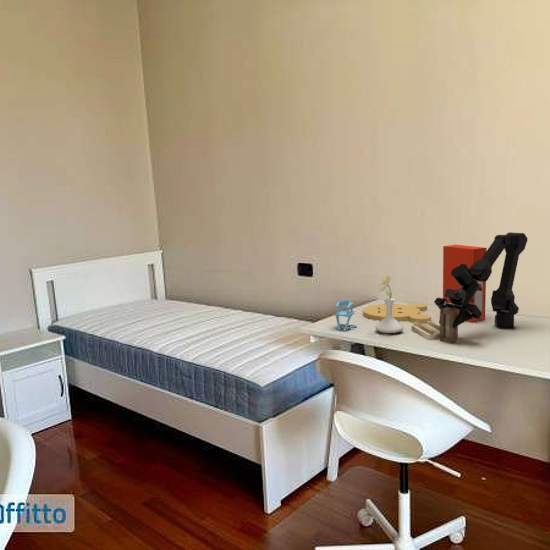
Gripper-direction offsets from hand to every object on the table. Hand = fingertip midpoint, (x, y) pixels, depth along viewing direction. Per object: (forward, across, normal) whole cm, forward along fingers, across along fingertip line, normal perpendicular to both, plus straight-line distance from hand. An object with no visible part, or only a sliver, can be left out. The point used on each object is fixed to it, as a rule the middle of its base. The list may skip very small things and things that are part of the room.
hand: (446, 325), depth 200 cm
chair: (+18, -39, -8) cm, 44 cm away
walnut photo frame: (+4, 0, +6) cm, 7 cm away
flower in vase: (+10, -23, 0) cm, 25 cm away
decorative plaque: (-6, -43, +16) cm, 47 cm away
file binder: (-20, -21, +29) cm, 41 cm away
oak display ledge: (+2, -11, +7) cm, 14 cm away
